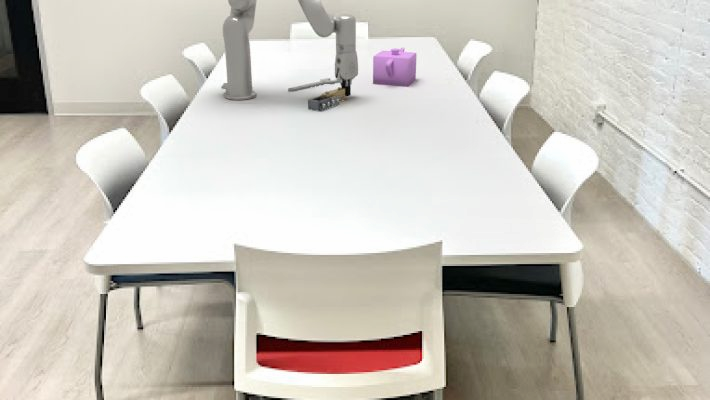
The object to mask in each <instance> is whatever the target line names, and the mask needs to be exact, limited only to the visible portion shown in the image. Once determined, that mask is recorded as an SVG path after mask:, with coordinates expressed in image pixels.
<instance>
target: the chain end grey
mask: <svg viewBox="0 0 710 400" xmlns="http://www.w3.org/2000/svg"><path fill="white" fill-rule="evenodd" d="M318 96H319V97H320V101H322V94H320V95H318ZM330 103H331V104H330V108H333V107H336V106H338V104H339V105H340V103H341V102H340V99H339V95H335V96H333V97H330ZM335 105H336V106H335ZM332 106H333V107H332Z"/></svg>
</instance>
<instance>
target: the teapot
mask: <svg viewBox="0 0 710 400" xmlns="http://www.w3.org/2000/svg"><path fill="white" fill-rule="evenodd" d="M405 49H406V48H405V47H401V48H400V49H399V48H391V49H390V50H381V51H380V52H379V51H378V53H376V54H375V55H373V57H372V58H373V59H372V63H373V65H372V85H381V86H382V85H383V86H392V87H394V86H395V87H410V86H411V85H412V84H414V82H415V81H416V78H417V75H416V74H417V52H409V51H407V52H406V51H405Z"/></svg>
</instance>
